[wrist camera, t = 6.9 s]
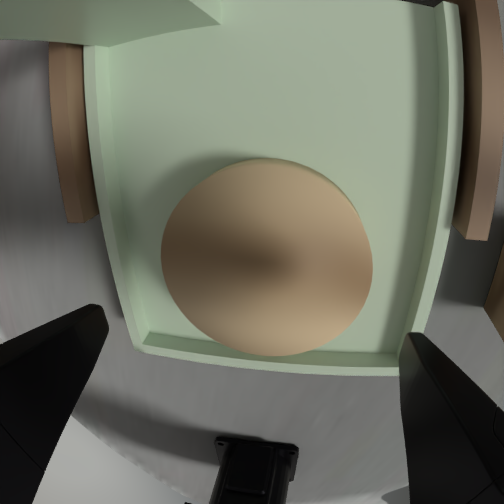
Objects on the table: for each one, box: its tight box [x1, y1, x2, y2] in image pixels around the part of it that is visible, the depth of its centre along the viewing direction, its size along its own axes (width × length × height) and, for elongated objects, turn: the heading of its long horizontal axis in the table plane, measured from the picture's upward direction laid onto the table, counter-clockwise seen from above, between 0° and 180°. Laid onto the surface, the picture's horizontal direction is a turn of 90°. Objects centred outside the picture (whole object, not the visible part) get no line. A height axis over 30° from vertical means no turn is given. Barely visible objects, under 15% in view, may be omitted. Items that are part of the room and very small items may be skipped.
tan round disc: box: [161, 158, 373, 356], centre depth 13 cm, size 8×8×2 cm
